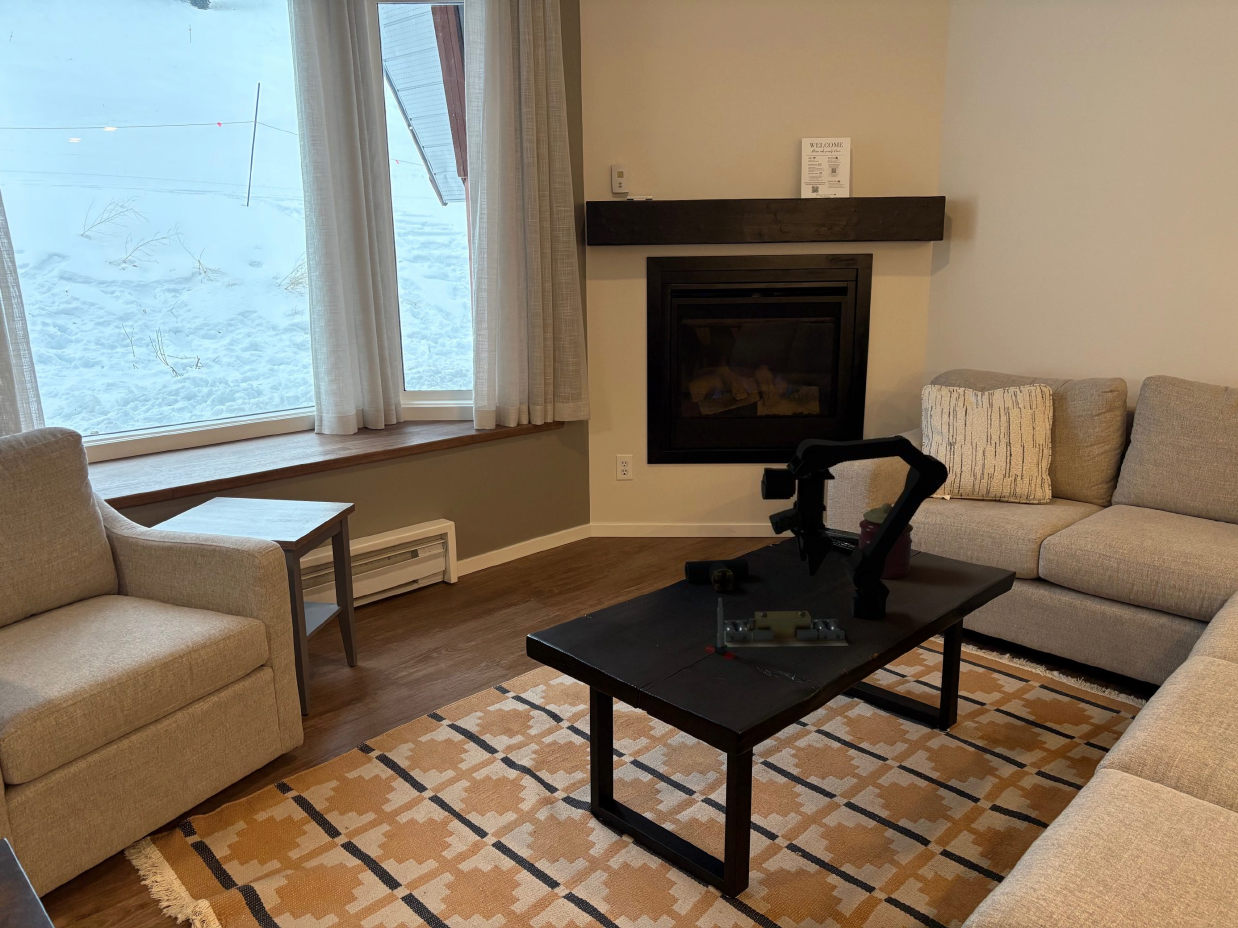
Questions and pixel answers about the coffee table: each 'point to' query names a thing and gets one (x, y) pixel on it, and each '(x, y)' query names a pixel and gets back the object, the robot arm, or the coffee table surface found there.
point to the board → (783, 642)
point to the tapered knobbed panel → (783, 622)
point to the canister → (900, 552)
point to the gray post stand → (720, 635)
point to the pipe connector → (717, 572)
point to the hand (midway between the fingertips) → (807, 567)
